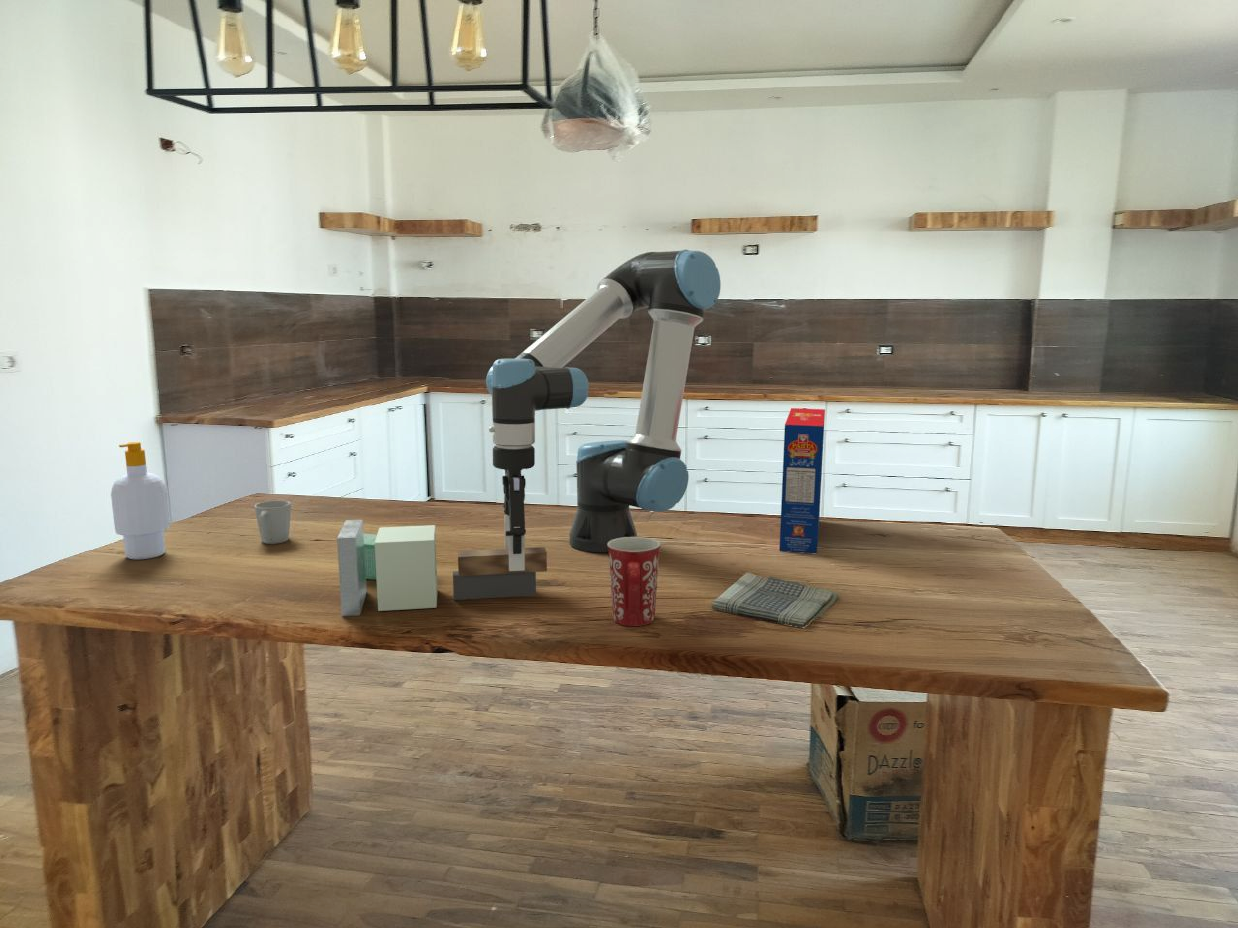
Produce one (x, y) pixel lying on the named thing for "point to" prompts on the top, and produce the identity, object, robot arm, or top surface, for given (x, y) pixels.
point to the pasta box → (802, 480)
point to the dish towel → (775, 600)
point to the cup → (273, 520)
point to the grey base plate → (352, 567)
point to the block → (406, 567)
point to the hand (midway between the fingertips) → (514, 559)
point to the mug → (633, 579)
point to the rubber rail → (493, 585)
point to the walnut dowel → (499, 561)
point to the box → (370, 555)
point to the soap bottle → (140, 507)
